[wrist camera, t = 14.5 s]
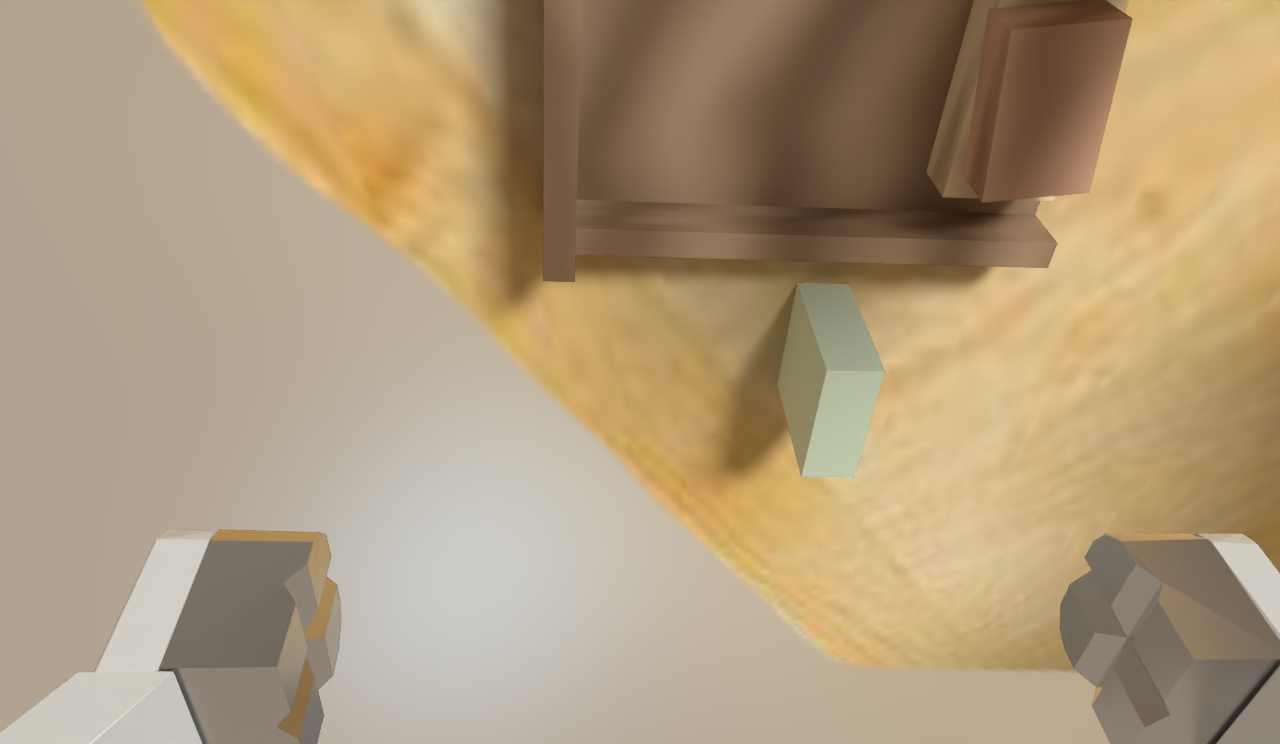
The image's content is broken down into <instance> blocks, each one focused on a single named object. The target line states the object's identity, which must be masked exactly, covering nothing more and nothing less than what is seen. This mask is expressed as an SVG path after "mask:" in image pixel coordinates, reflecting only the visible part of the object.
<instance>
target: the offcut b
mask: <svg viewBox="0 0 1280 744" xmlns="http://www.w3.org/2000/svg"><path fill="white" fill-rule="evenodd" d="M1131 22H1132V18H1131V17H1129V16H1128V15H1127V14H1125V13H1124V12H1122V11H1121V10H1119V9H1118V8H1116V7H1115V6H1114V5H1112V4H1111V3H1109V2H1108V1H1106V0H1078V1H1067V2H1056V3H1046V4H1035V5H1024V6H1014V7H1003V8H992V9H988V16H987V22H986V29H985V35H984V42H983V48H982V55H981V61H980V68H979V74H978V81H977V88H976V94H975V101H974V107H973V114H972V120H971V127H970V133H969V140H968V146H967V153H966V159H965V166H964V172H963V177H964V178H965V179H966V181H967V182H968V184H969V185H970V186H971V188H972V189H973V191H974V192H975V193H976V195H977V196H978V198H979V199H980V201H981V202H982V203H984V202H995V201H1006V200H1017V199H1027V198H1038V197H1049V196H1060V195H1071V194H1081V193H1089V191H1090V187H1091V183H1092V179H1093V175H1094V171H1095V167H1096V163H1097V159H1098V155H1099V151H1100V147H1101V143H1102V139H1103V135H1104V131H1105V127H1106V123H1107V119H1108V115H1109V111H1110V107H1111V103H1112V99H1113V95H1114V91H1115V87H1116V83H1117V79H1118V74H1119V70H1120V66H1121V62H1122V58H1123V54H1124V50H1125V46H1126V42H1127V38H1128V34H1129V30H1130V26H1131Z"/></svg>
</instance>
